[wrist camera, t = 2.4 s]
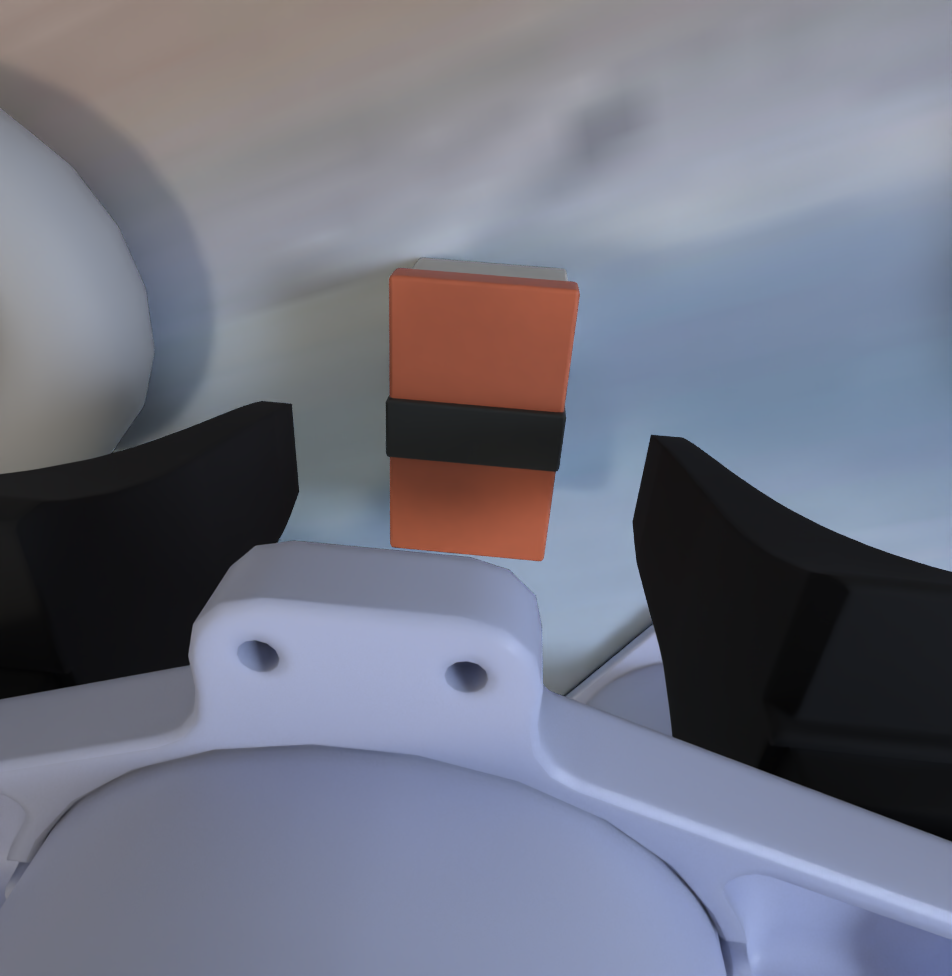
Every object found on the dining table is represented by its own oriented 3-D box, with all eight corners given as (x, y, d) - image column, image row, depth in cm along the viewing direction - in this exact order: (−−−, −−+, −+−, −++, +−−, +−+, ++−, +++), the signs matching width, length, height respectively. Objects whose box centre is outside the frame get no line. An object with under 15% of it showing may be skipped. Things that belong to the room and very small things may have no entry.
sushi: (544, 493, 19) (545, 567, 16) (409, 481, 20) (385, 552, 16) (574, 255, 16) (584, 292, 13) (412, 243, 16) (384, 276, 13)
